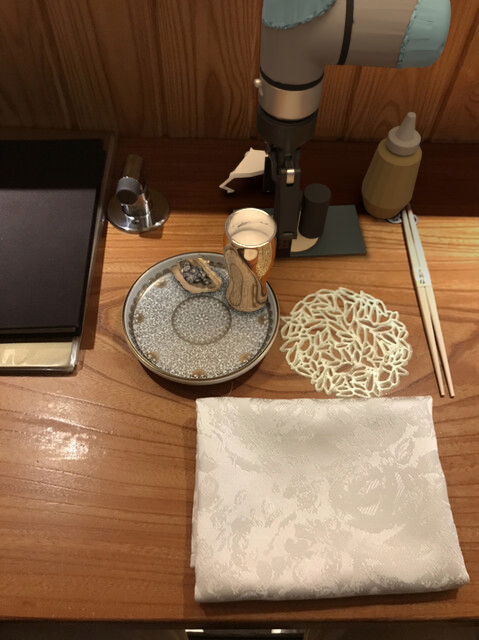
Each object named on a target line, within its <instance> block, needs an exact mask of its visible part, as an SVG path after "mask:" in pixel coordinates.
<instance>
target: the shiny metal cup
mask: <svg viewBox="0 0 479 640" xmlns="http://www.w3.org/2000/svg"><path fill="white" fill-rule="evenodd" d="M238 209H239V208H238ZM261 209H262V208H256V207H243V208H240V209H239V210H237V209H236V210H237V211H235V212H233V211H232V213H231V214H230V215H228V217H227V218H226V220H225V222H224V231H223V239H222V255H223V256H222V257H223V261H224V266H225V270H226V273H227V276H228V285H227V288H226V294H225V296H226V300H227V302H228V304H229V305H230V306H231V307H232V308H233V309H235V310H236V311H238V312H243V313H252V312H255V311H258V310H260V309H261V308H263V307H264V306H265V304H266V303H267V300H268V297H269V295H268V293H269V292H268V286H267V281H268V278H269V276H270V273H271V271H272V269H273V266H274V263H275V260H276V259H275V254H276V245H277V225H276V222H275V220H274V218H273V217H272V216H271V215H270V214H269V213H267V212H265V211H263V210H261ZM266 286H267V287H266Z"/></svg>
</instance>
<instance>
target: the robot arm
mask: <svg viewBox="0 0 479 640" xmlns="http://www.w3.org/2000/svg"><path fill="white" fill-rule="evenodd" d="M451 18H452V7H451V0H263V1H262V7H261V23H260V24H261V25H260V47H259V49H260V51H259V78H255V79H253V87H254V88H258V96H257V98H258V99H257V105H256V125H255V126H256V130H257V133H258V135H259V136H260V138H262V139H263V141H264V144H266V145H265V147H264V151H265V153H266V155H268V157H265V163H264V174H263V179H262V192H267V191H269V192H276V225H277V245H276V254H275V258H282V259H290V258H289V257H290V252H291V246H292V239H297V237H298V233H297V225H298V201H299V189H300V181H301V176H302V169H301V167H300V164H299V163H300V162H299V161H300V160H301V146H303V145H304V144H305V143H308V142H309V141H310V139H312V137H314V134H315V132H316V127H317V121H318V116H319V107H320V105H321V99H322V94H323V93H322V92H323V86H324V80H325V72H326V71H325V70H326V66H353V67H354V66H355V67H369V68H383V69H384V68H385V69H396V70H403V69H414V68H415V69H416V68H417V69H418V68H429V67H431V66H433V65H434V64H436V63H437V62H438V60H439V59H440V57H441V56H442V53H443V51H444V48H445V47H446V43H447V39H448V37H449V32H450V25H451Z"/></svg>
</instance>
